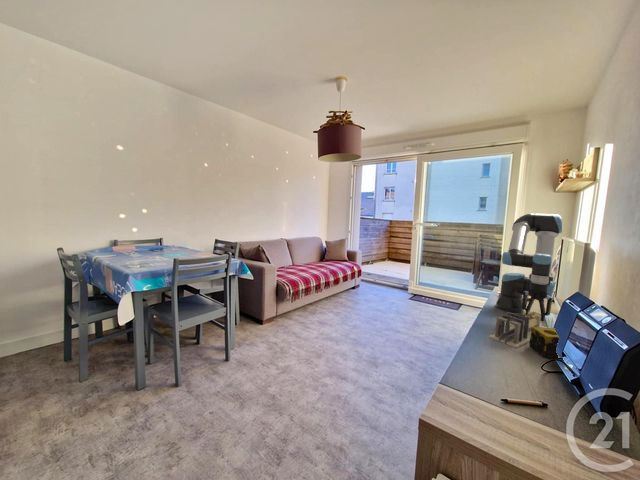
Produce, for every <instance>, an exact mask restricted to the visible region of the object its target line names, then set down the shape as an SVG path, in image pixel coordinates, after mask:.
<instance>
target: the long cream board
mask: <svg viewBox="0 0 640 480" xmlns="http://www.w3.org/2000/svg"><path fill="white" fill-rule="evenodd" d="M533 327H538V324H537V325H535V326H533ZM541 327H544V328H548V327H547V326H544V325H542V326H541ZM531 328H532V327H531ZM531 328H529V329H528V337H527V339H525V338H523V336H522V342H520V341H519V342H518V343H517V344H515V343H513V340H514V332H515V327H514V325H510V328H509V331H507V332H505V328H504V333H503V334H500V336H499V337H496V336H495V333H494V334H491V335H489V339H492V340H494V341H496V342H497V341H498V342H500V343H502V344H505V345H508V346H511V347H514V348H515V349H519V348H520V347H522V346H524V345H526V344H528V343H529V342H530V337H531ZM523 332H524V330H523Z"/></svg>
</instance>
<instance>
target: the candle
mask: <svg viewBox="0 0 640 480" xmlns="http://www.w3.org/2000/svg"><path fill="white" fill-rule="evenodd" d="M544 327H545V326H544ZM544 327H532V328H531V337H530V341H529V342H528V343H529V348H530V349H531V350H532V351H534V352H535V353H537V354H538V355H539V356H540V357H542V358H543V359H557V358H558V355H557V353H556V347H557V343H558V340H559V336H558V334H557V332H556V330H555V329H556V328H555V327H547V328H544Z"/></svg>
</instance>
